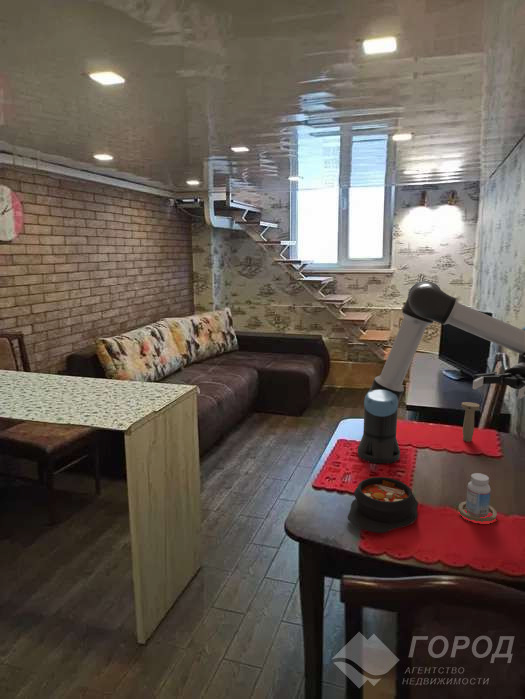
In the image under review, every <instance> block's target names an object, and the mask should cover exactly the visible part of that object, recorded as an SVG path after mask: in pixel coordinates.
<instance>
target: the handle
mask: <svg viewBox="0 0 525 699" xmlns="http://www.w3.org/2000/svg"><path fill="white" fill-rule="evenodd" d="M460 406H461V408H463V409H464V410H465V411H464V418H463V426H462V436H463V437H462V440H463V441H464V442H470V443H471V442H472V441H473V435H474V431H475V412H476V411H478V410H480V406H481V405H480V404H479V403H476V402H470V401H467V402H466V401H464V402H463V401H462V402H461V405H460Z"/></svg>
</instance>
